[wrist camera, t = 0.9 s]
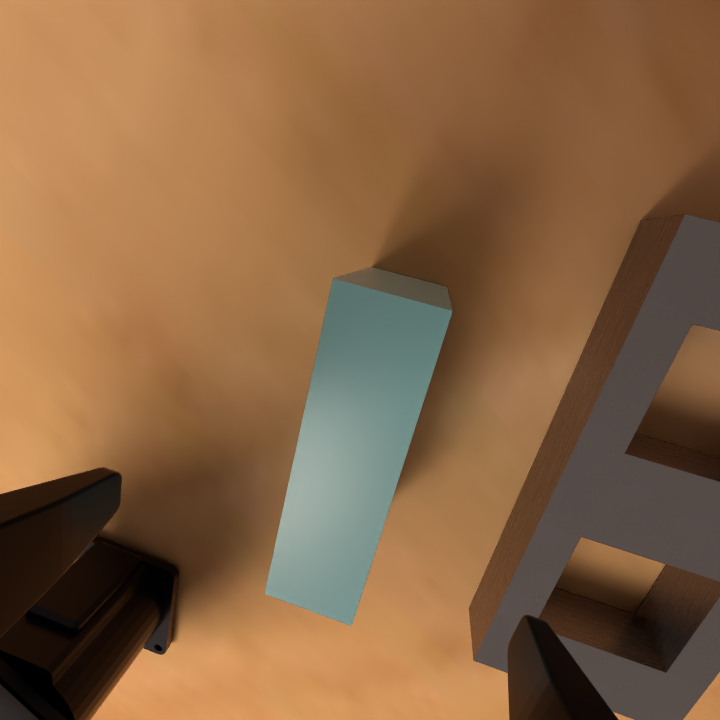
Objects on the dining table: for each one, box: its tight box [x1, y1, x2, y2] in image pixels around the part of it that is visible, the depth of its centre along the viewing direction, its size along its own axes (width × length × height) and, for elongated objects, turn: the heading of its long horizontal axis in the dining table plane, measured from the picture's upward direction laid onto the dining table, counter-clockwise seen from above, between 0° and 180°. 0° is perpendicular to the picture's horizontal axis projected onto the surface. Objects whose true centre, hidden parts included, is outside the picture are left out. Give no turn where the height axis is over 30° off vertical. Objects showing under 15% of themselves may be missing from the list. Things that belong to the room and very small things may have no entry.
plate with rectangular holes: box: [469, 214, 720, 720], centre depth 14 cm, size 18×8×2 cm, turn 166°
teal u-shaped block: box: [265, 267, 453, 626], centre depth 14 cm, size 10×3×6 cm, turn 166°
